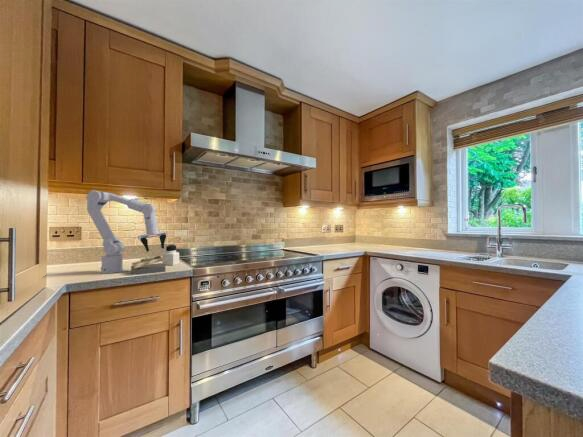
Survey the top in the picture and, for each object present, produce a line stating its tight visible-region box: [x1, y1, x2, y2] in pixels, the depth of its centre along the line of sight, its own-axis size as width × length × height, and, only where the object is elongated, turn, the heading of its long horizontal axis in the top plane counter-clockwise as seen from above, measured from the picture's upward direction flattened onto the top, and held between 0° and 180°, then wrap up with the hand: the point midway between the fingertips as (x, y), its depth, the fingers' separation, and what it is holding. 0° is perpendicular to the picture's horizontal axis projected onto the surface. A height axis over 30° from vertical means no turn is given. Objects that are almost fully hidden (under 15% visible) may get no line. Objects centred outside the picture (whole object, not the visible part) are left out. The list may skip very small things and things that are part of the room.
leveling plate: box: [131, 255, 164, 269], centre depth 140 cm, size 14×12×3 cm
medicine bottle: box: [161, 244, 180, 266], centre depth 160 cm, size 7×7×12 cm
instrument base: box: [130, 262, 166, 276], centre depth 140 cm, size 15×13×3 cm
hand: (155, 249), depth 143 cm, fingers open, 7 cm apart
